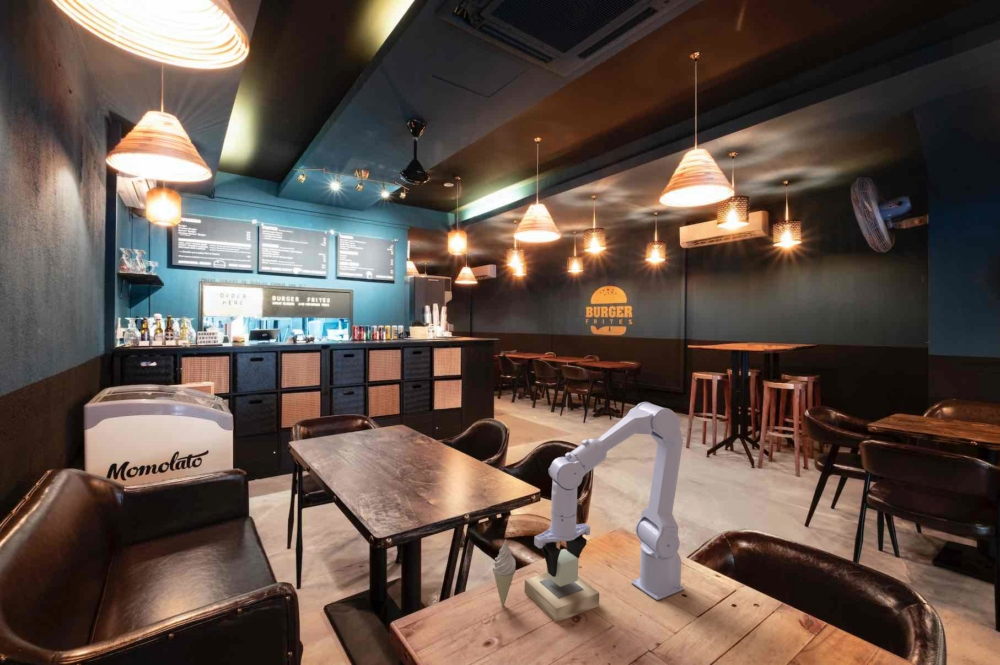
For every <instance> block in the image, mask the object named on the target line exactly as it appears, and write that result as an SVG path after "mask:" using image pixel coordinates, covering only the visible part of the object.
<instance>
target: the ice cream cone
mask: <svg viewBox="0 0 1000 665" xmlns="http://www.w3.org/2000/svg"><path fill="white" fill-rule="evenodd" d="M498 552H499V553H498V554H497V557H495V558H494V560H495V562H493V565H494V566H493V567H492V572H493V575H494V580H495V583H496V587H497V592H498V596H499V600H500V605H501V607H504V606H505V604H506V601H507V597H508V594H509V591H510V587H511V585H512V581H513V578H514V574H515V573H516V565H517V564H516V563H517V562H516V559H515V558H514V557H513V555H512V550H511V549H510V547H509V544H508V542H507V539H506V538H505V539H504V541H503V544H502V546H501V547H500V549H499V551H498Z"/></svg>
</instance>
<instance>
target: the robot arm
mask: <svg viewBox="0 0 1000 665" xmlns="http://www.w3.org/2000/svg"><path fill="white" fill-rule="evenodd" d="M681 421H682V420H681V419H680V417H679V416H678V415H677V414H676V413H675V412H674V411H673V410H672V409H671V408H667V407H662V406H659V405H656V404H653V403H652V402H649V401H643V402H639V403H638V404H637V405H636V406H635V407H633V408H630V410H629V411H628V412H627V414H626V415H625V416H624V417H623V418H622V419H620V420H619V421H618V422H617V423H616V424H614V425H613V426H612V427H610V429H609V430H607V431H606V432H605V433H603V434H602V435H601V436H600V437H598V438H591V437H590V438H589V439H586V438H585V439H583V440H582V441H581V444H580V445H579V446H577V447H576V448H574V449H573V450H571V451H570V452H569V451H568V452H566V453H565V454H564V456H560V457H559V456H558V457H557V458H555V459H554V460H553V461H552V462H551V464H550V466H549V468H548V470H547V471H548V475H549V476H550V478H551V479H552V483H551V485H552V486H551V502H550V503H551V508H550V525H549V528H548V529H547V530H545V531H543V532H542V533H539V534H537V535H535V536H534V540H533V543H534V544H533V545H534V546H535V547H537V548H538V549H541V551H542V554H543V556H544V559H545V564H546V570H547V569H548V573H549V574H550V575H551V576H553V577H555V576H556V573H557V562H558V557H559V554H560V552H561V550H562V549H560V548H558V547H557V544H556V543H559V542H565V544H566V550H567V551H568V552H570V553H571V554H573V555H574V556H575V557H577V558H578V560H579V559H580V556H581V553H582V552H583V550H584V549H585V547H587V546H586V545H587V539H586V538H584V537H583V536H584V535H585V536H590V535H591V526H590V525H589V524H587V523H579V524H577V509H578V508H577V507H578V487H579V486H580V485H581V484H582V482H583V478H584V477H585V476H586V474H587V473H589V472H590V471H591V470H593V469H595V468H596V467H598V466H599V465H600V464H601V463H602V462H604V461H605V460H606V459H607V454H608V452H609V451H610V450H612V449H613V448H615V447H616V446H618V445H619V444H621V443H623V442H625V441H626V440H627V439H629V438H630V437H632V436H635V434H637V435H639V434H640V435H651V437H652V439H654V441H655V442H656V444H657V446H656V452H655V453H656V454H655V459H654V465H653V472H652V473H653V474H652V480H651V486H650V494H649V501H648V506H647V507H646V508H644V509H642V511H641V514H640V518H639V519H638V520H637V523H636V525H635V533H636V536H637V537H638V539H640V541H639V542H640V555H639V556H640V561H639V563H640V564H639V577H638V578H636V579H633V580H631V584H632V585H634V586H635V587H636V588H638V589H639V590H641V592H643V593H645V594H646V595H648V596H649V597H651V598H653V599H654V600H655V601H659V600H662V599H664V598H667V597H668V596H671V595H674V594H676V593H678V592H680V591H683V590H684V586H682V585H681V580H682V579H681V578H682V559H681V556H680V554H679V550H680V543H681V542H680V539H679V525H678V523H677V521H676V519H675V517H674V515H673V512H674V505H675V504H674V503H675V497H676V489H677V484H678V476H679V471H680V465H681V457H682V450H683V443H684V442H683V441H684V439H683V435H682V431H681V428H680V427H681Z"/></svg>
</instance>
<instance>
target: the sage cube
mask: <svg viewBox="0 0 1000 665" xmlns="http://www.w3.org/2000/svg"><path fill="white" fill-rule="evenodd" d="M560 550H561V552H560V554H559V557H558V562H557V573H556V576H555V577H553V576H551V575H550V574H549V573H548V569H547V568H546V573H547V576H548V577H549V578H550V579H552V580H553V581H554V582H555V583H556V584H557V585H559V586H560V587H561V586H564V585H567V584H569V583H572V582H575V581H578V577H579V559H578V558H577V557H575V556H574V555H573V554H571V553H570V552H568V551H567V549H566V548H563V549H560Z"/></svg>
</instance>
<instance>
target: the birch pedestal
mask: <svg viewBox="0 0 1000 665" xmlns="http://www.w3.org/2000/svg"><path fill="white" fill-rule="evenodd" d="M523 593H525V594H526V596H528V597H529V598H530V599H531V600H532V601H533V602H534V604H536V605H537V606H538V607H539V608H540V609H541V610H542V611H543V612H544V613H545V614H546V615H547V616H548V617H550V619H551V620H552V621H553V622H555V623H559V622H561V621H564V620H567V619H569V618H572V617H574V616H576V615H579V614H583V613H584V612H588V611H589V610H592V609H596V608H597V607H599V606H600V592H599V591H598V590H597V589H595V588H594V587H592V586H591V585H590V584H589V583H587V581H585V580H584V579H582V577H581V578H580V577H579V576H578V581H575V582H572V583H569V584H567V585H564V586H561V587H560V586H559V585H557V584H556V583H555V582H554V581H553V580H552V579H550V578H549V577H548V576H547V572H544V573H541V574H538V575H535V576H533V577H529V578H526V579H524V592H523Z"/></svg>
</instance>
